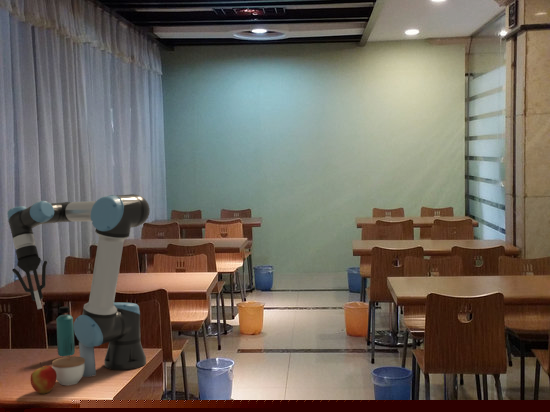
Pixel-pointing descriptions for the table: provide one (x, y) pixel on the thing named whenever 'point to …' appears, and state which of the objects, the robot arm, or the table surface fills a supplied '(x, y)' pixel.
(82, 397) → the table surface
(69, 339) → the beverage bottle
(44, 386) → the apple
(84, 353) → the post
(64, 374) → the lidded jar
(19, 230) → the robot arm
